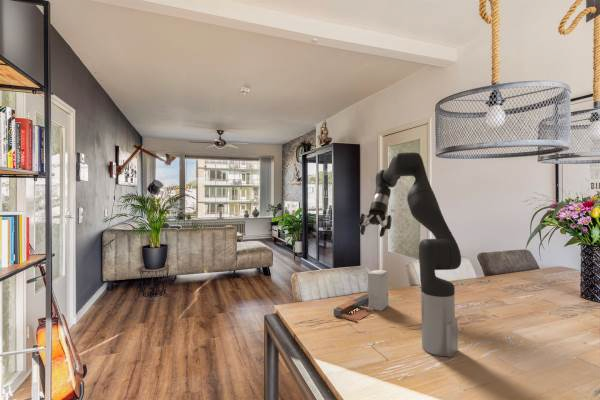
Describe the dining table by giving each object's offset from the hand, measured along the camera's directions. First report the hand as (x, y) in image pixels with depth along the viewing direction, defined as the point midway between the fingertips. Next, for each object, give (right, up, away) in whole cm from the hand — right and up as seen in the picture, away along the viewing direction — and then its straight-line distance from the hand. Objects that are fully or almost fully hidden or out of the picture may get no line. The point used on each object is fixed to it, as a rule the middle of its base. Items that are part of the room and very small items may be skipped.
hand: (371, 235), depth 138 cm
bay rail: (-6, -29, -10) cm, 32 cm away
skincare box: (+1, -29, -7) cm, 30 cm away
